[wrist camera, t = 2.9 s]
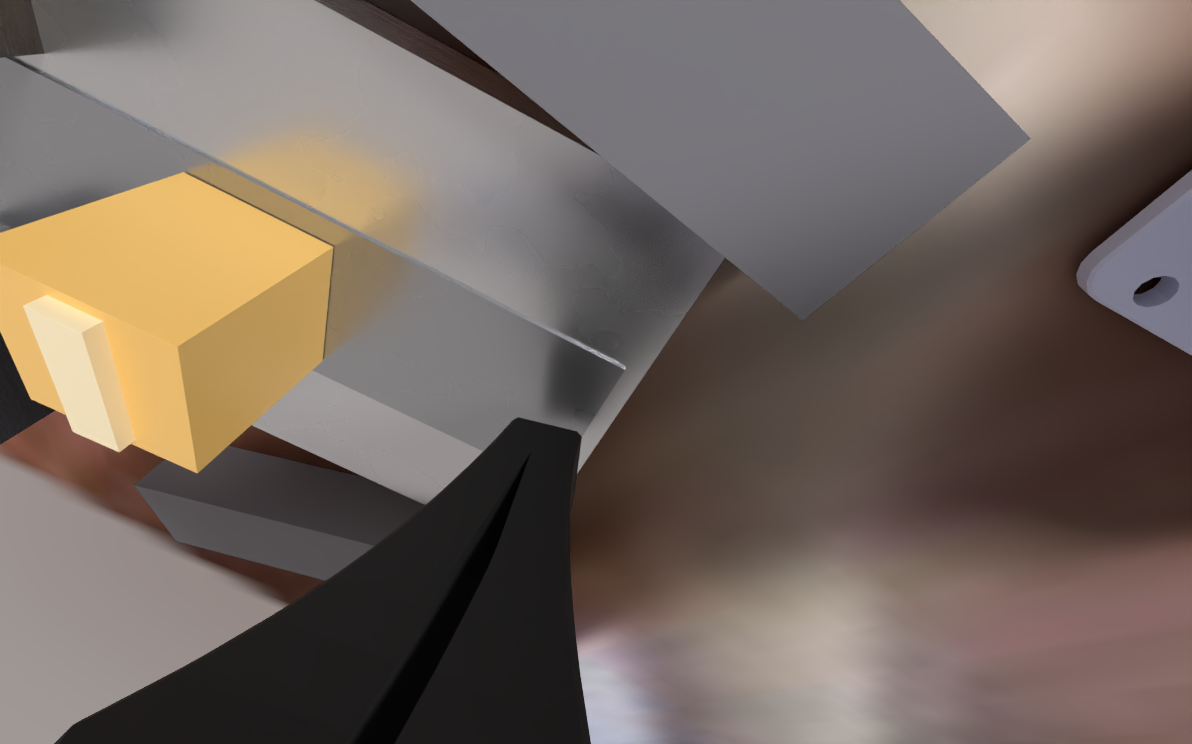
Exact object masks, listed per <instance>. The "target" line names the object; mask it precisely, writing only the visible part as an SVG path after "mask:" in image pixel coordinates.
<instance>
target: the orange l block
mask: <svg viewBox="0 0 1192 744" xmlns="http://www.w3.org/2000/svg"><path fill="white" fill-rule="evenodd" d="M332 256H333V247H332V246H330V245H328V244H326V243H324V242H322V241H320V240H318V239H316V238H314V237H312V236H310V235H308V234H306V233H304V232H302V231H300V230H298V229H296V228H294V227H292V226H290V225H288V224H286V223H284V222H282V221H280V220H278V219H276V218H274V217H272V216H270V215H268V214H266V213H264V212H262V211H260V210H258V209H256V208H254V207H252V206H250V205H248V204H246V203H244V202H242V201H240V200H238V199H236V198H234V197H232V196H230V195H228V194H226V193H224V192H222V191H220V190H218V189H216V188H214V187H212V186H210V185H208V184H206V183H204V182H202V181H200V180H198V179H196V178H194V177H192V176H190V175H188V174H186V173H184V172H182V173H179V174H176V175H173V176H170V177H167V178H164V179H161V180H158V181H155V182H152V183H149V184H146V185H143V186H140V187H137V188H134V189H131V190H128V191H125V192H122V193H119V194H116V195H113V196H110V197H107V198H104V199H101V200H98V201H95V202H92V203H89V204H86V205H83V206H80V207H77V208H74V209H71V210H68V211H65V212H62V213H59V214H56V215H53V216H50V217H47V218H44V219H41V220H38V221H35V222H32V223H29V224H26V225H23V226H20V227H16V228H13V229H10V230H7V231H4V232H1V233H0V332H1V334H2V337H3V339H4V341H5V343H6V345H7V348H8V350H9V352H10V354H11V356H12V359H13V361H14V363H15V365H16V367H17V370H18V372H19V374H20V376H21V379H22V381H23V383H24V385H25V387H26V390H27V392H28V394H29V396H30V398H31V399H32V400H34V401H36V402H38V403H41V404H43V405H45V406H47V407H50V408H52V409H54V410H56V411H58V412H61V413H63V414H65V415H66V416H67V418H68V421H69V423H70V426H71V428H72V431H73V432H75V433H77V434H79V435H81V436H84V437H86V438H88V439H90V440H93V441H95V442H97V443H99V444H102V445H104V446H106V447H108V448H111V449H113V450H115V451H117V452H120V451H122V450H123V449H124V448H126V447H127V446H128V445H130V444H132V445H135V446H137V447H139V448H141V449H144V450H146V451H148V452H150V453H153V454H155V455H157V456H159V457H162V458H164V459H166V460H168V461H171V462H173V463H175V464H177V465H180V466H182V467H184V468H186V469H189V470H191V471H193V472H195V473H198V472H200V471H201V470H202V469H203V468H204V467H205V466H206V465H207V464H209V463H210V462H211V461H212V460H213V459H214V458H215V457H216V456H217V455H219V454H220V453H221V452H222V451H223V450H224V449H225V448H226V447H227V446H229V445H230V444H231V443H232V442H233V441H234V440H235V439H236V438H237V437H239V436H240V435H241V434H242V433H243V432H244V431H245V430H246V429H247V428H249V427H250V426H251V425H252V424H253V423H254V422H255V421H256V420H258V419H259V418H260V417H261V416H262V415H263V414H264V413H265V412H266V411H268V410H269V409H270V408H271V407H272V406H273V405H274V404H275V403H276V402H278V401H279V400H280V399H281V398H282V397H283V396H284V395H285V394H286V393H288V392H289V391H290V390H291V389H292V388H293V387H294V386H295V385H296V384H298V383H299V382H300V381H301V380H302V379H303V378H304V377H305V376H307V375H308V374H309V373H310V372H311V371H312V370H313V369H314V368H315V367H317V366H318V365H319V364H320V363H321V362H322V361H323V350H324V340H325V329H326V319H327V308H328V298H329V287H330V277H331V266H332Z"/></svg>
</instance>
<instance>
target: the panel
mask: <svg viewBox="0 0 1192 744" xmlns="http://www.w3.org/2000/svg"><path fill="white" fill-rule="evenodd" d="M182 172H184V173H186V174H188V175H190V176H192V177H194V178H196V179H198V180H200V181H202V182H204V183H206V184H208V185H210V186H212V187H214V188H216V189H218V190H220V191H222V192H224V193H226V194H228V195H230V196H232V197H234V198H236V199H238V200H240V201H242V202H244V203H246V204H248V205H250V206H252V207H254V208H256V209H258V210H260V211H262V212H264V213H266V214H268V215H270V216H272V217H274V218H276V219H278V220H280V221H282V222H284V223H286V224H288V225H290V226H292V227H294V228H296V229H298V230H300V231H302V232H304V233H306V234H308V235H310V236H312V237H314V238H316V239H318V240H320V241H322V242H324V243H326V244H328V245H330V246H332V247H333V256H332V266H331V277H330V287H329V298H328V308H327V319H326V329H325V340H324V350H323V361H322V362H321V363H320V364H319V365H318V366H317V367H315V368H314V369H313V370H312V371H311V372H310V373H309V374H308V375H307V376H305V377H304V378H303V379H302V380H301V381H300V382H299V383H298V384H296V385H295V386H294V387H293V388H292V389H291V390H290V391H289V392H288V393H286V394H285V395H284V396H283V397H282V398H281V399H280V400H279V401H278V402H276V403H275V404H274V405H273V406H272V407H271V408H270V409H269V410H268V411H266V412H265V413H264V414H263V415H262V416H261V417H260V418H259V419H258V420H256V421H255V422H254V423H253V424H252V426H254V427H256V428H259V429H261V430H263V431H265V432H267V433H269V434H272V435H274V436H276V437H278V438H280V439H283V440H285V441H287V442H289V443H291V444H293V445H296V446H298V447H300V448H302V449H304V450H307V451H309V452H311V453H313V454H315V455H317V456H320V457H322V458H324V459H326V460H328V461H330V462H333V463H335V464H337V465H339V466H341V467H344V468H346V469H348V470H350V471H352V472H354V473H357V474H359V475H361V476H363V477H365V478H367V479H370V480H372V481H374V482H376V483H378V484H381V485H383V486H385V487H387V488H389V489H391V490H394V491H396V492H398V493H400V494H402V495H404V496H407V497H409V498H411V499H413V500H415V501H418V502H420V503H422V504H424V505H426V504H427V503H428V502H429V501H431V500H432V499H433V498H434V497H435V496H436V495H437V494H439V493H440V492H441V491H442V490H443V489H444V488H445V487H446V486H447V485H448V484H449V483H451V482H452V481H453V480H454V479H455V478H456V477H457V476H458V475H459V474H460V473H461V472H462V471H463V470H465V469H466V468H467V467H468V466H469V465H470V464H471V463H472V462H473V461H474V460H475V459H476V458H477V457H478V456H479V455H480V454H481V453H482V452H483V451H484V450H485V449H486V448H487V447H488V446H489V445H490V444H491V443H492V442H493V441H494V440H495V439H496V438H497V437H498V436H499V434H500V433H501V432H502V431H503V430H504V429H505V428H506V427H507V426H508V425H509V424H510V422H511V421H512V420H514V419H516V418H518V417H520V418H524V419H528V420H532V421H536V422H540V423H545V424H549V425H553V426H557V427H561V428H565V429H570V430H574V431H577V432H578V433H579V434H580V435H581V436H582V440H581V448H580V455H579V463H578V470H577V473H578V472H579V470H580V469H581V467H582V466H583V464H584V463H585V461H586V460H587V459H588V457H589V456H590V454H591V453H592V451H593V450H594V448H595V447H596V445H597V444H598V442H599V441H600V440H601V438H602V437H603V435H604V434H605V432H606V431H607V429H608V428H609V426H610V425H611V423H612V422H613V421H614V419H615V418H616V416H617V415H618V413H619V412H620V410H621V409H622V407H623V406H624V404H625V403H626V402H627V400H628V399H629V397H630V396H631V394H632V393H633V391H634V390H635V388H636V387H637V385H638V384H639V383H640V381H641V380H642V378H643V377H644V375H645V374H646V372H647V371H648V369H649V368H650V366H651V365H652V364H653V362H654V361H655V359H656V358H657V356H658V355H659V353H660V352H661V350H662V349H663V347H664V346H665V345H666V343H667V342H668V340H669V339H670V337H671V336H672V334H673V333H674V331H675V330H676V328H677V327H678V326H679V324H680V323H681V321H682V320H683V318H684V317H685V315H686V314H687V312H688V311H689V309H690V308H691V307H692V305H693V304H694V302H695V301H696V299H697V298H698V296H699V295H700V293H701V292H702V290H703V289H704V288H705V286H706V285H707V283H708V282H709V280H710V279H711V277H712V276H713V274H714V273H715V271H716V270H717V269H718V267H719V266H720V264H721V263H722V261H723V260H724V258H725V257H724V256H723V255H721V254H720V253H719V252H718V251H716V250H715V249H714V248H713V247H712V246H710V245H709V244H708V243H707V242H705V241H704V240H703V239H702V238H701V237H699V236H698V235H697V234H696V233H694V232H693V231H692V230H691V229H690V228H688V227H687V226H686V225H685V224H683V223H682V222H681V221H680V220H679V219H677V218H676V217H675V216H674V215H672V214H671V213H670V212H669V211H668V210H666V209H665V208H664V207H663V206H661V205H660V204H659V203H658V202H657V201H655V200H654V199H653V198H652V197H650V196H649V195H648V194H647V193H646V192H644V191H643V190H642V189H641V188H639V187H638V186H637V185H636V184H634V183H633V182H632V181H631V180H630V179H628V178H627V177H626V176H625V175H623V174H622V173H621V172H620V171H619V170H617V169H616V168H615V167H614V166H612V165H611V164H610V163H609V162H608V161H606V160H605V159H604V158H603V157H601V156H600V155H599V154H598V153H597V152H595V151H594V150H593V149H592V148H590V147H589V146H588V145H587V144H586V143H584V142H583V141H582V140H581V139H579V138H578V137H577V136H576V135H575V134H573V133H572V132H571V131H570V130H568V129H567V128H566V127H565V126H564V125H562V124H561V123H560V122H559V121H557V120H556V119H555V118H554V117H553V116H551V115H550V114H549V113H548V112H546V111H545V110H544V109H543V108H542V107H540V106H539V105H538V104H537V103H535V102H534V101H533V100H532V99H531V98H529V97H528V96H527V95H526V94H524V93H523V92H522V91H521V90H520V89H518V88H517V87H516V86H515V85H513V84H512V83H511V82H510V81H509V80H507V79H506V78H505V77H503V76H501V75H500V74H498V73H496V72H494V71H492V70H491V69H489V68H487V67H485V66H483V65H481V64H480V63H478V62H476V61H474V60H472V59H470V58H469V57H467V56H465V55H463V54H461V53H460V52H458V51H456V50H454V49H452V48H450V47H449V46H447V45H445V44H443V43H441V42H439V41H438V40H436V39H434V38H432V37H430V36H429V35H427V34H425V33H423V32H421V31H419V30H418V29H416V28H414V27H412V26H410V25H409V24H407V23H405V22H403V21H401V20H399V19H398V18H396V17H394V16H392V15H390V14H388V13H387V12H385V11H383V10H381V9H379V8H378V7H376V6H374V5H372V4H370V3H368V2H367V1H365V0H0V233H1V232H4V231H7V230H10V229H13V228H16V227H20V226H23V225H26V224H29V223H32V222H35V221H38V220H41V219H44V218H47V217H50V216H53V215H56V214H59V213H62V212H65V211H68V210H71V209H74V208H77V207H80V206H83V205H86V204H89V203H92V202H95V201H98V200H101V199H104V198H107V197H110V196H113V195H116V194H119V193H122V192H125V191H128V190H131V189H134V188H137V187H140V186H143V185H146V184H149V183H152V182H155V181H158V180H161V179H164V178H167V177H170V176H173V175H176V174H179V173H182ZM53 411H55V410H54V409H52V408H50V407H47V406H45V405H43V404H41V403H38V402H36V401H34V400H32V399H31V398H30V396H29V394H28V392H27V390H26V387H25V385H24V383H23V381H22V379H21V376H20V374H19V372H18V370H17V367H16V365H15V363H14V361H13V359H12V356H11V354H10V352H9V350H8V348H7V345H6V343H5V341H4V339H3V337H2V334H1V332H0V444H2V443H3V442H5V441H7V440H8V439H10V438H11V437H13V436H15V435H16V434H18V433H20V432H21V431H23V430H24V429H26V428H28V427H29V426H31V425H32V424H34V423H36V422H37V421H39V420H41V419H42V418H44V417H45V416H47V415H49V414H50V413H52V412H53Z"/></svg>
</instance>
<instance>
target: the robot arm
mask: <svg viewBox="0 0 1192 744" xmlns="http://www.w3.org/2000/svg"><path fill="white" fill-rule="evenodd" d="M1076 276H1077V283H1078V285H1079V286H1080V287H1081V288H1082V289H1083V290H1084V291H1085V292H1086V293H1087V294H1088V295H1089V296H1091V297H1092V298H1093V299H1094V300H1095V301H1097V302H1099V303H1101V304H1102V305H1104V306H1106V307H1108V308H1109V309H1111V310H1113V311H1115V312H1116V313H1118V314H1120V315H1122V316H1123V317H1125V318H1127V319H1129V320H1130V321H1132V322H1134V323H1136V324H1137V325H1139V326H1141V327H1143V328H1144V329H1146V330H1148V331H1150V332H1151V333H1153V334H1155V335H1157V336H1158V337H1160V338H1162V339H1164V340H1165V341H1167V342H1169V343H1171V344H1172V345H1174V346H1176V347H1178V348H1179V349H1181V350H1183V351H1185V352H1186V353H1188V354H1190V355H1192V170H1191V171H1190V172H1188V173H1187V174H1186V175H1185V176H1184V177H1182V178H1181V179H1180V180H1179V181H1177V182H1176V183H1175V184H1174V185H1173V186H1171V187H1170V188H1169V189H1168V190H1166V191H1165V192H1164V193H1163V194H1162V195H1160V196H1159V197H1158V198H1157V199H1155V200H1154V201H1153V202H1152V203H1151V204H1149V205H1148V206H1147V207H1146V208H1144V209H1143V210H1142V211H1141V212H1140V213H1138V214H1137V215H1136V216H1135V217H1133V218H1132V219H1131V220H1130V221H1129V222H1127V223H1126V224H1125V225H1124V226H1122V227H1121V228H1120V229H1119V230H1118V231H1116V232H1115V233H1114V234H1113V235H1111V236H1110V237H1109V238H1108V239H1107V240H1105V241H1104V242H1103V243H1102V244H1100V245H1099V246H1098V247H1097V248H1096V249H1094V250H1093V251H1092V252H1091V253H1090V254H1089V255H1088V256H1087V257H1086V258H1085V259H1084V260H1083V261H1082V262H1081V264H1080V266H1079V269H1078V271H1077V274H1076ZM1155 277H1161V280H1160V281H1159V282H1158V284H1157V285H1156V286H1155V287H1154V288H1152V289H1150V290H1148V291H1146V292H1144V293H1142V294H1136V295H1134V292H1135V290H1136V289H1137V288H1138V287H1139V286H1140V285H1141V284H1142V283H1144V282H1146V281H1148V280H1150V279H1152V278H1155ZM581 440H582V436H581V435H580V434H579V433H578V432H577V431H574V430H570V429H565V428H561V427H557V426H553V425H549V424H545V423H540V422H536V421H532V420H528V419H524V418H520V417H518V418H516V419H514V420H512V421H511V422H510V424H509V425H508V426H507V427H506V428H505V429H504V430H503V431H502V432H501V433H500V434H499V436H498V437H497V438H496V439H495V440H494V441H493V442H492V443H491V444H490V445H489V446H488V447H487V448H486V449H485V450H484V451H483V452H482V453H481V454H480V455H479V456H478V457H477V458H476V459H475V460H474V461H473V462H472V463H471V464H470V465H469V466H468V467H467V468H466V469H465V470H463V471H462V472H461V473H460V474H459V475H458V476H457V477H456V478H455V479H454V480H453V481H452V482H451V483H449V484H448V485H447V486H446V487H445V488H444V489H443V490H442V491H441V492H440V493H439V494H437V495H436V496H435V497H434V498H433V499H432V500H431V501H429V502H428V503H427V504H426V505H425V506H423V507H422V508H421V509H420V510H419V511H417V512H416V513H415V514H414V515H413V516H411V517H410V518H409V519H408V520H407V521H405V522H404V523H403V524H402V525H401V526H399V527H398V528H397V529H396V530H394V531H393V532H392V533H391V534H389V535H388V536H387V537H385V538H384V539H383V540H382V541H380V542H379V543H378V544H376V545H375V546H374V547H372V548H371V549H370V550H368V551H367V552H366V553H364V554H363V555H361V556H360V557H359V558H357V559H356V560H355V561H353V562H352V563H350V564H349V565H348V566H346V567H345V568H343V569H342V570H341V571H339V572H338V573H336V574H335V575H333V576H332V577H330V578H329V579H327V580H326V581H324V582H323V583H321V584H320V585H318V586H317V587H315V588H314V589H312V590H311V591H309V592H308V593H306V594H305V595H303V596H302V597H300V598H299V599H297V600H296V601H294V602H293V603H291V604H289V605H288V606H286V607H285V608H283V609H282V610H280V611H278V612H277V613H275V614H274V615H272V616H270V617H269V618H267V619H265V620H263V621H262V622H260V623H258V624H257V625H255V626H253V627H252V628H250V629H248V630H246V631H245V632H243V633H241V634H240V635H238V636H236V637H235V638H233V639H231V640H229V641H228V642H226V643H224V644H223V645H221V646H219V647H218V648H216V649H214V650H212V651H211V652H209V653H207V654H206V655H204V656H202V657H200V658H198V659H197V660H195V661H193V662H191V663H189V664H188V665H186V666H184V667H182V668H180V669H179V670H177V671H175V672H173V673H171V674H169V675H167V676H165V677H163V678H161V679H160V680H157V681H156V682H154V683H152V684H150V685H148V686H146V687H144V688H142V689H140V690H138V691H136V692H135V693H133V694H131V695H129V696H127V697H125V698H123V699H121V700H119V701H117V702H116V703H113V704H112V705H110V706H108V707H106V708H104V709H102V710H100V711H98V712H96V713H94V714H92V715H90V716H88V717H86V718H84V719H83V720H81V721H79V722H77V723H76V724H74V725H73V726H71V727H70V728H69V730H67V732H66V733H64V734H63V736H61V737H60V739H58V740H57V741H56V743H54V744H591V742H590V735H589V729H588V722H587V716H586V709H585V703H584V696H583V690H582V683H581V677H580V669H579V660H578V652H577V644H576V635H575V624H574V614H573V602H572V589H571V570H570V536H569V534H570V510H571V506H572V502H573V498H574V493H575V486H576V478H577V470H578V463H579V455H580V448H581Z"/></svg>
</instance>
